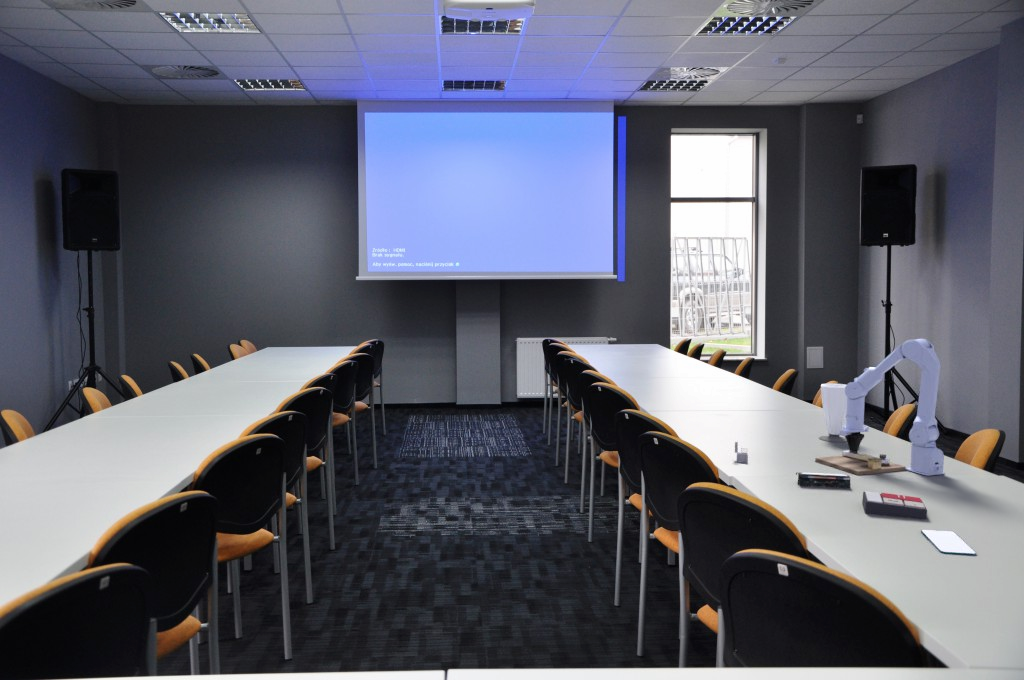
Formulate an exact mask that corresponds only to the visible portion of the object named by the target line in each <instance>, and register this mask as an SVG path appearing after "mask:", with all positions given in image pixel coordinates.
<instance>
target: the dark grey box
mask: <svg viewBox="0 0 1024 680" xmlns="http://www.w3.org/2000/svg"><path fill="white" fill-rule="evenodd" d="M861 502H862V503H861V504H862V508H863V511H864V514H865V515H875V516H889V517H898V518H904V519H905V518H906V519H916V520H927V518H928V509H927V507H926V505H925V504H924V502H923V500H922V499H921V497H915V496H908V495H904V494H902V495H900V494H895V493H886V492H881V493H880V492H874V491H868V490H866V491H863V493H862V501H861Z"/></svg>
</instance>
